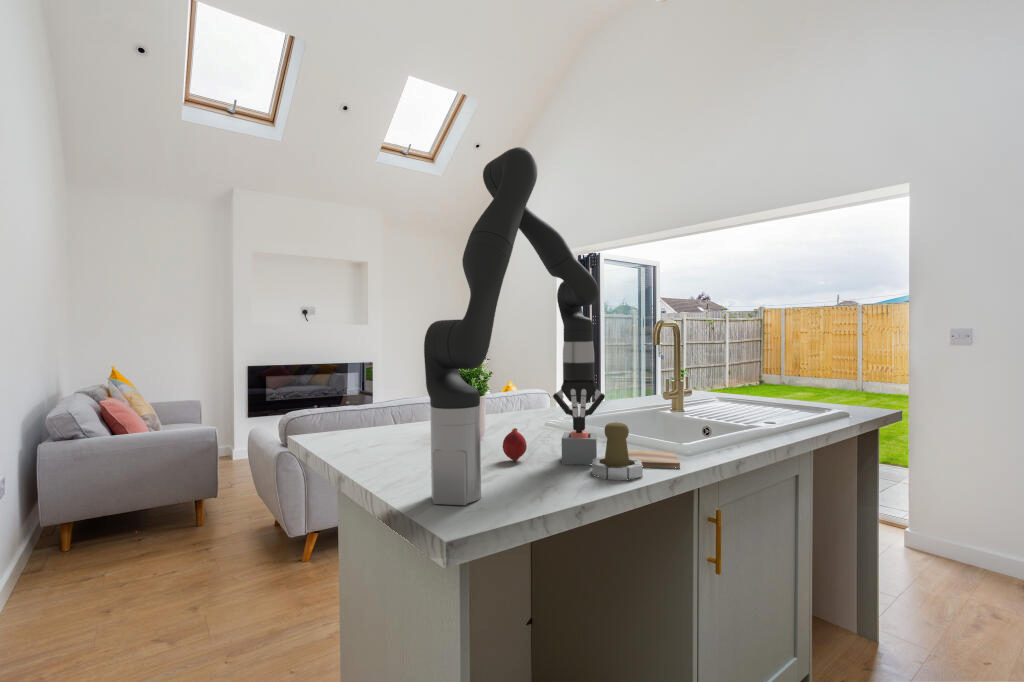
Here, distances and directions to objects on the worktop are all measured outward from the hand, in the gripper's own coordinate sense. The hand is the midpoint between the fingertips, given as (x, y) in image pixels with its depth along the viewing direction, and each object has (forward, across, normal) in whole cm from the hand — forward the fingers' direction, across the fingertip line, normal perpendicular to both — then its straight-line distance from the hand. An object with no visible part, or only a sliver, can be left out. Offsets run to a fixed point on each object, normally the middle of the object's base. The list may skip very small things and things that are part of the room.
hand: (579, 432), depth 121 cm
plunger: (+6, 0, 0) cm, 6 cm away
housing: (+7, 0, 0) cm, 7 cm away
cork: (+7, +8, -11) cm, 15 cm away
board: (+7, +16, +1) cm, 18 cm away
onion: (+7, -16, -3) cm, 17 cm away
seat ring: (+7, +8, -11) cm, 15 cm away
